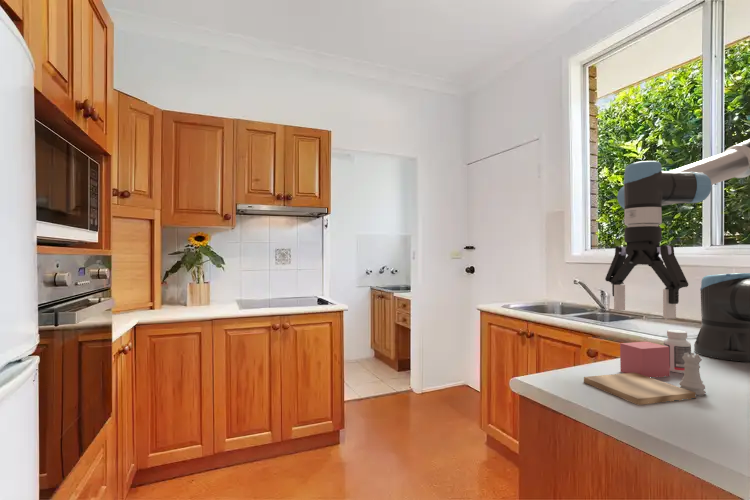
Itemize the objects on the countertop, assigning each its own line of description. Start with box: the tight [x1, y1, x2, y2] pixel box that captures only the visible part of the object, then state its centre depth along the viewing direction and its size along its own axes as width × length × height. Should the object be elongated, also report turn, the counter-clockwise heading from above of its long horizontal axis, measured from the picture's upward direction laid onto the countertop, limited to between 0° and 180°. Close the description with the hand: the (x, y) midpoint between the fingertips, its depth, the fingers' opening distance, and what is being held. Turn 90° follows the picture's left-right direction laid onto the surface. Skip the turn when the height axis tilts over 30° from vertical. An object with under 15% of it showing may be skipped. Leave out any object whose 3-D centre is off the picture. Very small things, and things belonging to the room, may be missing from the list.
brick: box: [619, 341, 671, 378], centre depth 96 cm, size 8×6×7 cm
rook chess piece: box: [678, 352, 707, 396], centre depth 83 cm, size 4×4×8 cm
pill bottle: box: [663, 329, 692, 374], centre depth 98 cm, size 5×5×10 cm
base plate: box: [583, 372, 697, 406], centre depth 85 cm, size 14×14×1 cm
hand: (642, 313), depth 96 cm, fingers open, 13 cm apart
